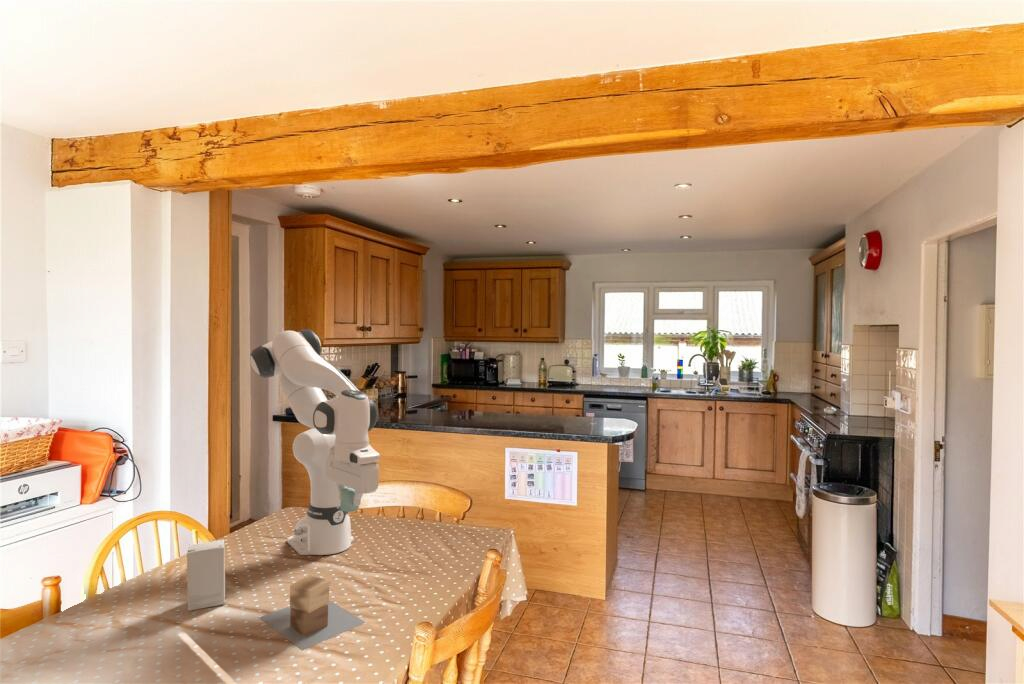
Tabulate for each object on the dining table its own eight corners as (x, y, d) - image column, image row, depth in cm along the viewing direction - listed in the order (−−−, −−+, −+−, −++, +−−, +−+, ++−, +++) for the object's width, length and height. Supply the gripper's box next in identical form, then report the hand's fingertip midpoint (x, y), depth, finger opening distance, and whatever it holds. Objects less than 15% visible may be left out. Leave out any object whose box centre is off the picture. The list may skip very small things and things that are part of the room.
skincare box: (225, 595, 143) (226, 538, 143) (224, 606, 138) (225, 546, 137) (187, 601, 139) (189, 542, 139) (185, 612, 134) (186, 551, 134)
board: (258, 621, 131) (259, 617, 131) (320, 598, 143) (320, 594, 143) (302, 654, 118) (302, 650, 118) (366, 626, 130) (366, 622, 130)
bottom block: (290, 626, 127) (290, 604, 127) (314, 616, 132) (314, 595, 132) (303, 636, 123) (304, 613, 123) (327, 625, 128) (328, 604, 128)
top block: (289, 607, 126) (290, 585, 126) (309, 596, 131) (310, 575, 131) (309, 613, 123) (309, 591, 123) (328, 602, 129) (329, 580, 129)
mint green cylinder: (336, 508, 149) (337, 490, 148) (352, 504, 152) (352, 486, 152) (346, 512, 145) (347, 494, 145) (362, 508, 149) (362, 490, 149)
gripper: (320, 446, 153) (318, 495, 153) (363, 459, 140) (361, 514, 140) (340, 443, 158) (338, 491, 158) (384, 456, 144) (381, 508, 145)
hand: (349, 502), depth 149 cm, fingers closed on mint green cylinder, 5 cm apart
